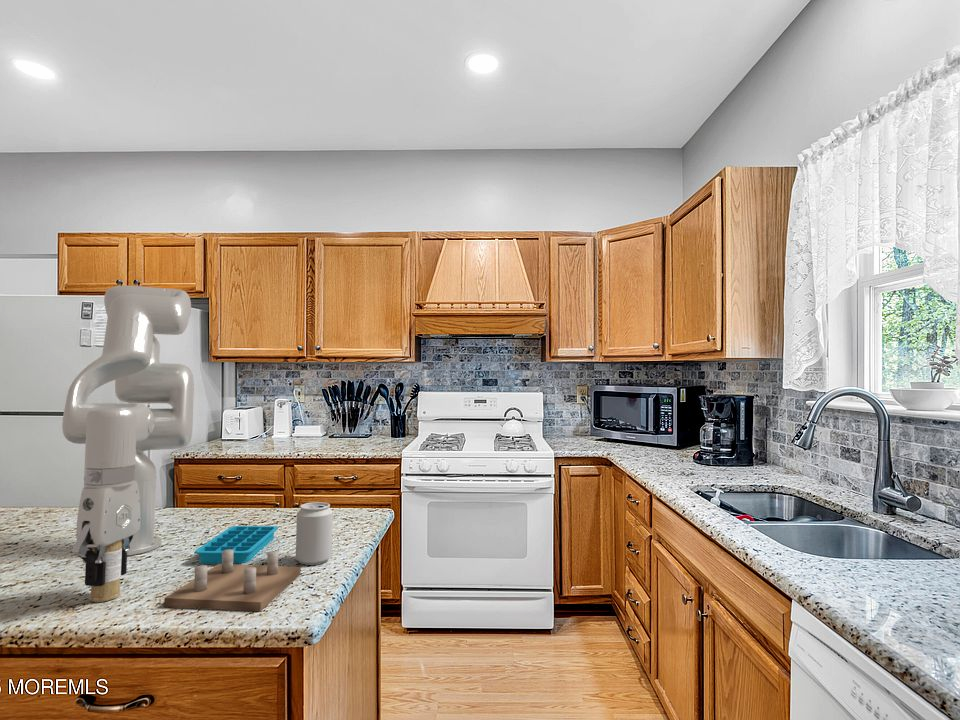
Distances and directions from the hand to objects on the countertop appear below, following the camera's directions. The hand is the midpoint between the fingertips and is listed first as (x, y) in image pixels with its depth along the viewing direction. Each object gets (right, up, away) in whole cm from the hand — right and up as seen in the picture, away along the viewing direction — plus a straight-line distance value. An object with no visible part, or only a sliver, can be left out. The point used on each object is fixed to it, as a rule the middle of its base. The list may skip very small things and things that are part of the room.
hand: (106, 578), depth 96 cm
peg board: (+21, -4, +4) cm, 22 cm away
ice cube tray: (+11, -5, +27) cm, 30 cm away
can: (+30, -5, +21) cm, 37 cm away
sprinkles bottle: (0, -4, 0) cm, 4 cm away
